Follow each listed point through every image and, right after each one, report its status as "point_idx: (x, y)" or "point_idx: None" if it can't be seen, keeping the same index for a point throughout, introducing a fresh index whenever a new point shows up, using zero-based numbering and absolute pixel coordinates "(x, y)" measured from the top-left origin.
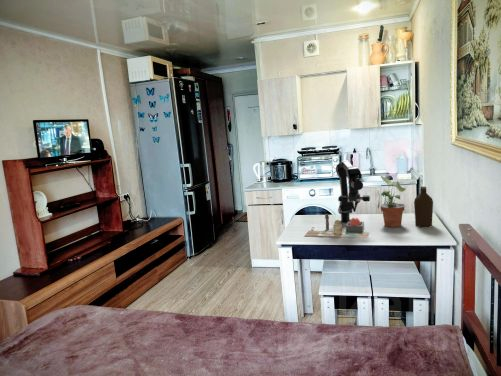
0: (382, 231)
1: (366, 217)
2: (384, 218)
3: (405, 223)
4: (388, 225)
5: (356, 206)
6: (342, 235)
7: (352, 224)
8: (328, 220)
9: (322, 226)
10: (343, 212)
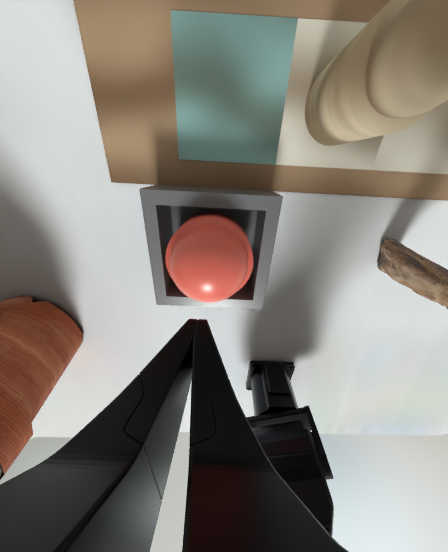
0: (46, 222)
1: (187, 412)
2: (37, 344)
3: None
4: (40, 305)
5: (127, 387)
6: (307, 61)
7: (226, 220)
8: (433, 275)
9: (399, 304)
10: (289, 419)
